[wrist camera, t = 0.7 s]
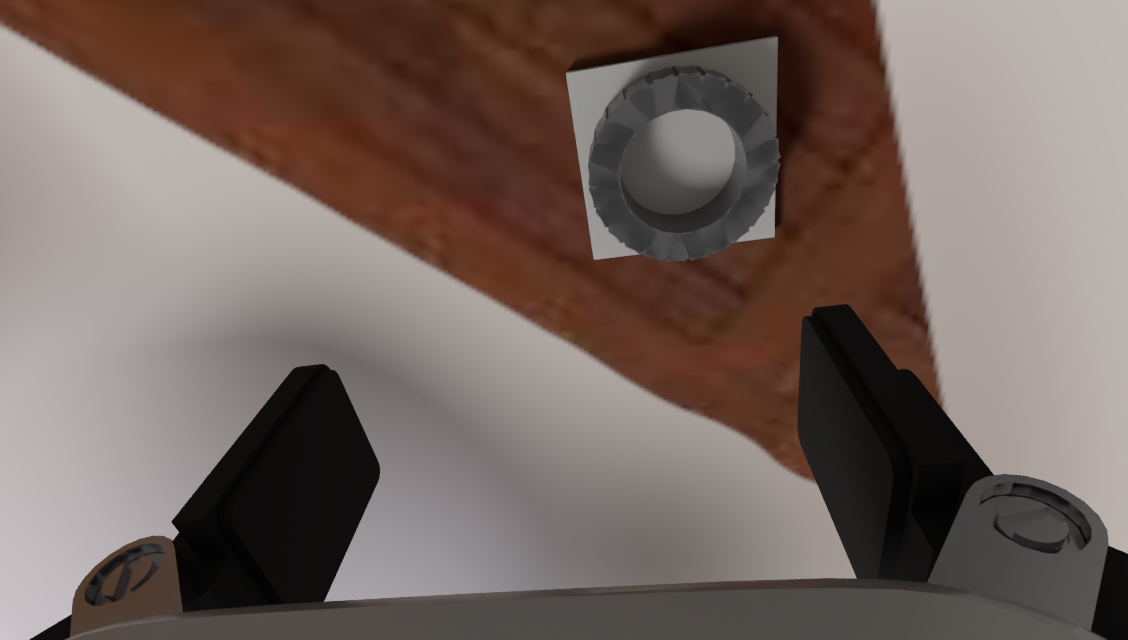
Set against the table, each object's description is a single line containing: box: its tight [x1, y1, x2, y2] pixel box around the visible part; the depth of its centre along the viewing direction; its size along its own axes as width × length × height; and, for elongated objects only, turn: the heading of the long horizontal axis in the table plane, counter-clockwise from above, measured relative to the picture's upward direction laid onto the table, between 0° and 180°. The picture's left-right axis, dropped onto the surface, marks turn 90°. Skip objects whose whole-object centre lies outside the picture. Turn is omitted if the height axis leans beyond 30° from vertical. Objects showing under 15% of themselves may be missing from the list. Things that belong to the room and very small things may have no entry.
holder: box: [566, 36, 781, 261], centre depth 32 cm, size 11×11×4 cm
